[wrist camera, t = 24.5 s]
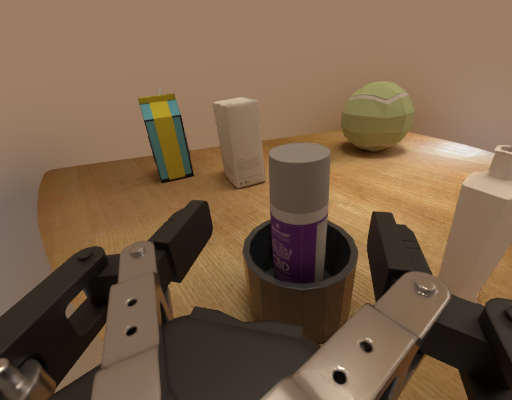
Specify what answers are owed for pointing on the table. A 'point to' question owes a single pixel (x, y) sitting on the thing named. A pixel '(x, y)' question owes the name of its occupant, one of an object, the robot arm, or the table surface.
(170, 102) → the carton
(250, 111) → the cosmetic box
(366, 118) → the decorative sphere
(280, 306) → the cylindrical pot
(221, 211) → the table surface
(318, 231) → the container
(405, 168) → the table surface
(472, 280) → the white faceted vase
